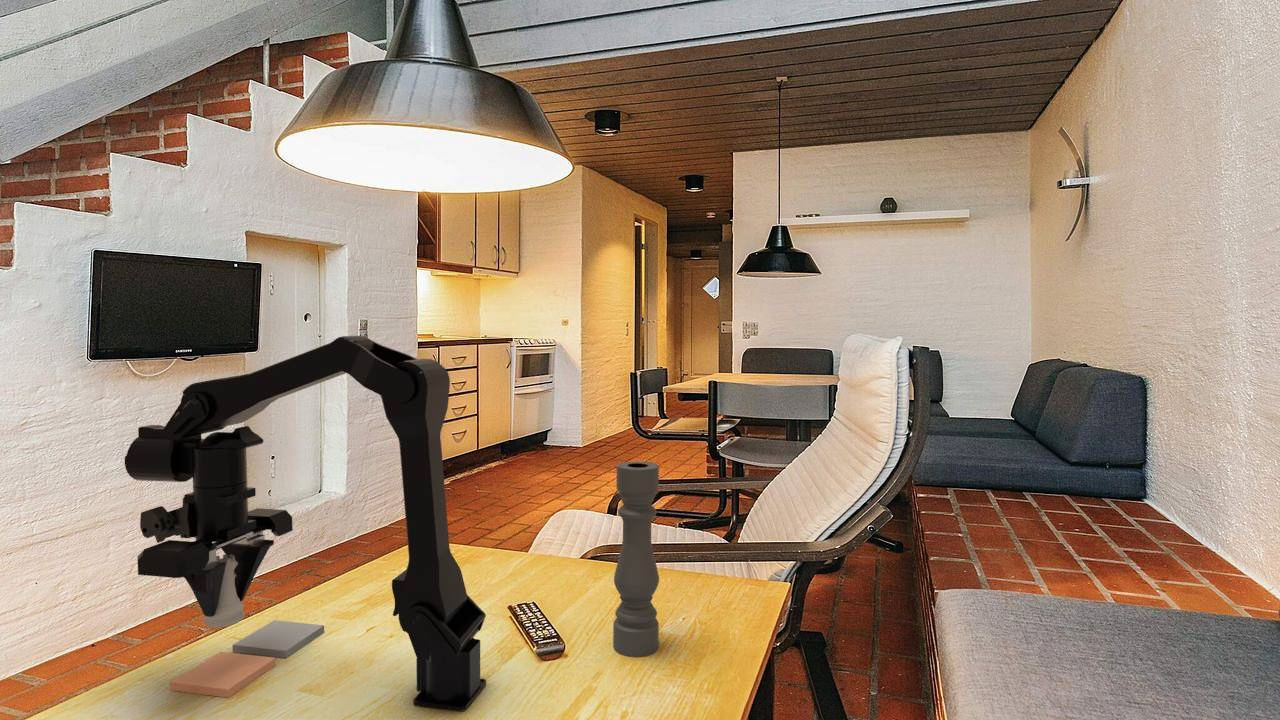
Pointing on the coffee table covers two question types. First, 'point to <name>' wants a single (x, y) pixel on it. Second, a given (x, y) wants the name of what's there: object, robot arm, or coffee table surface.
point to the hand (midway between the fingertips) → (224, 608)
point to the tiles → (246, 659)
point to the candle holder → (636, 561)
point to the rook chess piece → (227, 598)
